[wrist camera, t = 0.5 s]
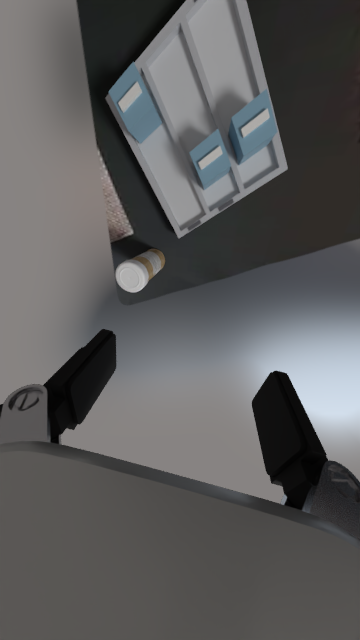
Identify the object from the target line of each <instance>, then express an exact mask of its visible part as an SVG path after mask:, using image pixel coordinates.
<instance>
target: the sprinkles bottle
mask: <svg viewBox="0 0 360 640" xmlns="http://www.w3.org/2000/svg"><path fill="white" fill-rule="evenodd" d="M164 264H165V258H164V255H163V254H162V252H161V251H159V250H157V249H150V250H148V251H147V252H144V253H142V254H140V255H138V256H136V257H134V258H133V259H131V260H127V261H125V262H123V263H121V264H120V265H119V266H118V267H117V269H116V280H117V282H118V284H119V285H120V287H122V288H123V289H124V290H126V291H128V292H138V291H140V290H141V289H142V288H144V287H145V285H146V284H147V282H148V281H149V280H150V279H151V278H152V277H153V276H155V275H156V274H157V273H158V271H159V270H161V269H162V268H163V266H164Z"/></svg>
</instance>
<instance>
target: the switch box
mask: <svg viewBox="0 0 360 640" xmlns="http://www.w3.org/2000/svg"><path fill="white" fill-rule="evenodd" d="M135 65H136V67H137V69H138V71H139V74H140V76H141V78H142V80H143V82H144V84H145V86H146V88H147V90H148V92H149V94H150V97H151V99H152V101H153V103H154V106H155V108H156V110H157V112H158V114H159V117H160V119H161V121H162V124H161V125H160V126H159V127H158V128H157V129H156V130H155V131H154V132H153V133H152V134H150V135H149V136H148V137H147V138H146V139H145V140H144V141H143V142H142V143H141V144H140V143H139V142H138V141H137V140H136V139H135V137H134V136H133V135H132V134H131V133H130V132H129V131H128V129H127V127H126V125H125V123H124V121H123V119H122V118H121V116H120V114H119V112H118V110H117V108H116V106H115V104H114V102H113V100H112V98H111V96H110V94H108V95H107V96H106V98H105V99H106V101H107V103H108V104H109V106H110V108H111V110H112V112H113V114H114V116H115V118H116V120H117V122H118V124H119V125H120V127H121V129H122V131H123V133H124V135H125V137H126V139H127V141H128V143H129V145H130V146H131V148H132V150H133V152H134V154H135V156H136V158H137V160H138V162H139V164H140V165H141V167H142V169H143V171H144V173H145V175H146V177H147V179H148V181H149V183H150V185H151V186H152V188H153V190H154V192H155V194H156V196H157V198H158V200H159V202H160V204H161V206H162V207H163V209H164V211H165V213H166V215H167V217H168V219H169V221H170V223H171V225H172V226H173V228H174V230H175V232H176V234H177V236H178V238H180V237H182V236H183V235H185V234H187V233H188V232H190V231H191V230H193V229H194V228H196V227H198V226H199V225H201V224H202V223H204V222H205V221H207V220H209V219H210V218H212V217H213V216H215V215H216V214H218V213H220V212H221V211H223V210H224V209H226V208H227V207H229V206H230V205H232V204H234V203H235V202H237V201H238V200H240V199H241V198H243V197H245V196H246V195H248V194H249V193H251V192H252V191H254V190H256V189H257V188H259V187H260V186H262V185H263V184H265V183H267V182H268V181H270V180H271V179H273V178H274V177H276V176H278V175H279V174H281V173H282V172H284V171H285V170H287V169H288V168H287V163H286V159H285V155H284V151H283V147H282V143H281V139H280V135H279V131H278V127H277V123H276V119H275V115H274V111H273V107H272V103H271V99H270V95H269V91H268V87H267V83H266V79H265V74H264V70H263V66H262V62H261V58H260V54H259V50H258V46H257V42H256V38H255V34H254V30H253V26H252V22H251V18H250V14H249V10H248V6H247V2H246V0H186V1H185V2H184V3H183V5H182V6H181V7H180V8H179V10H178V11H177V12H176V13H175V14H174V16H173V17H172V18H171V19H170V20H169V22H168V23H167V24H166V25H165V26H164V28H163V29H162V30H161V31H160V32H159V34H158V35H157V36H156V37H155V38H154V40H153V41H152V42H151V43H150V45H149V46H148V47H147V48H146V49H145V51H144V52H143V53H142V54H141V55H140V57H139V58H138V59H137V60H136V61H135ZM266 88H267V91H268V95H269V99H270V103H271V107H272V111H273V115H274V119H275V123H276V127H277V131H278V132H277V133H276V134H275V136H274V137H273V138H272V140H271V141H270V142H269V144H268V145H267V146H266V147H264V148H263V149H261V150H260V151H259V152H257V153H256V154H254V155H253V156H252V157H250V158H249V159H247V160H246V161H245V162H243V163H242V164H240V165H239V164H238V161H237V158H236V155H235V152H234V149H233V146H232V143H231V140H230V137H229V134H228V132H229V127H230V122H231V118H232V117H233V116H234V115H235V114H236V113H238V112H239V111H240V110H241V109H242V108H244V107H245V106H246V105H247V104H248V103H250V102H251V101H252V100H253V99H254V98H256V97H257V96H258V95H259V94H260V93H262V92H263V91H264V90H265V89H266ZM217 129H219V132H220V135H221V138H222V141H223V143H224V146H225V149H226V152H227V155H228V158H229V160H230V163H231V167H230V170H229V173H228V174H226V175H225V176H223V177H222V178H221V179H219V180H218V181H216V182H215V183H214V184H212V185H211V186H209V187H208V188H207V189H205V190H204V188H203V186H202V183H201V181H200V179H199V176H198V174H197V171H196V169H195V167H194V164H193V162H192V159H191V156H190V153H189V152H191V151H192V150H193V149H194V148H195V147H197V146H198V145H199V144H200V143H201V142H203V141H204V140H205V139H206V138H207V137H209V136H210V135H211V134H212V133H213V132H215V131H216V130H217Z"/></svg>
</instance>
